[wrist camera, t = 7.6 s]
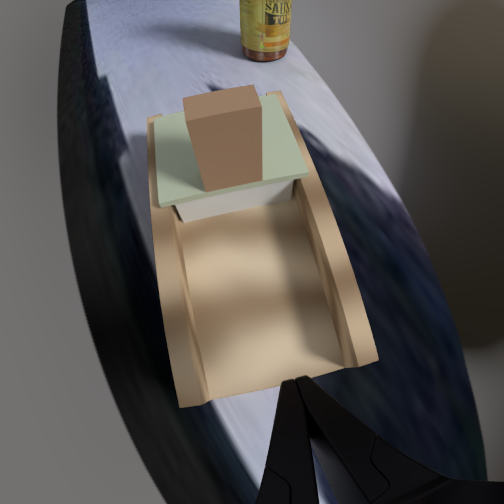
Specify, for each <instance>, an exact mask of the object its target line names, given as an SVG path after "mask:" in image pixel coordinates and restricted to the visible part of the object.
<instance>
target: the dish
mask: <svg viewBox="0 0 504 504" xmlns="http://www.w3.org/2000/svg"><path fill="white" fill-rule="evenodd" d="M293 181H294V179H293V180H288V181H283V182H277V183H272V184H267V185H262V186H257V187H252V188H247V189H242V190H237V191H233V192H228V193H223V194H219V195H214V196H210V197H205V198H201V199H196V200H192V201H188V202H184V203H179V204H175V206H176V208H177V210H178V212H179V214H180V216H181V218H182V220H183V222H184V223H186V222H190V221H194V220H199V219H203V218H207V217H212V216H216V215H221V214H225V213H230V212H235V211H239V210H244V209H249V208H253V207H258V206H263V205H268V204H273V203H278V202H283V201H288V200H291V195H292V188H293Z"/></svg>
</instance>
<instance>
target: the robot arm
mask: <svg viewBox="0 0 504 504" xmlns="http://www.w3.org/2000/svg"><path fill="white" fill-rule="evenodd" d="M311 445H312V447H313V449H314V451H315V454H316V456H317V458H318V460H319V462H320V465H321V467H322V469H323V471H324V473H325V476H326V478H327V480H328V482H329V484H330V487H331V489H332V491H333V493H334V495H335V497H336V500H337V502H338V504H504V482H495V481H473V480H460V479H453V478H449V477H446V476H444V475H441V474H439V473H437V472H435V471H434V470H432V469H430V468H428V467H426V466H424V465H423V464H421V463H419V462H417V461H415V460H414V459H412V458H410V457H408V456H407V455H405V454H404V453H402V452H400V451H399V450H397V449H396V448H394V447H393V446H392V445H390V444H389V443H388V442H386V441H385V440H384V439H382V438H381V437H380V436H379V435H376V433H375V432H374V431H372V430H371V429H370V428H369V427H368V426H366V425H365V424H364V423H363V422H361V421H360V420H359V419H358V418H357V417H355V416H354V415H353V414H352V413H351V412H349V411H348V410H347V409H346V408H345V407H344V406H342V405H341V404H340V403H339V402H338V401H336V400H335V399H334V398H333V397H332V396H331V395H329V394H328V393H327V392H326V391H325V390H324V389H323V388H321V387H320V386H319V385H318V384H317V383H316V382H315V381H313V380H312V379H311V378H310V377H309V376H307V375H303V376H300V377H296V378H295V380H294V379H288V380H284V381H282V382H281V386H280V392H279V397H278V403H277V408H276V414H275V419H274V425H273V430H272V435H271V440H270V445H269V450H268V455H267V460H266V465H265V466H266V467H265V469H264V474H263V478H262V482H261V486H260V490H259V493H258V496H257V498H256V501H255V504H319V498H318V490H317V483H316V476H315V469H314V462H313V455H312V449H311Z"/></svg>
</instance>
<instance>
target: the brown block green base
mask: <svg viewBox="0 0 504 504" xmlns="http://www.w3.org/2000/svg"><path fill="white" fill-rule="evenodd" d="M183 106H184V111H181V112H177V113H173V114H169V115H165V116H162V117H158V118H154V134H155V156H156V172H157V187H158V199H159V205H160V207H161V208H163V207H167V206H171V205H175V204H179V203H184V202H188V201H192V200H196V199H201V198H205V197H210V196H214V195H219V194H223V193H228V192H233V191H237V190H242V189H247V188H252V187H257V186H262V185H267V184H272V183H277V182H283V181H288V180H293V179H299V178H305V177H308V174H309V171H308V169H307V166H306V164H305V161H304V159H303V156H302V154H301V151H300V149H299V146H298V144H297V141H296V139H295V137H294V134H293V132H292V130H291V127H290V125H289V123H288V120H287V118H286V116H285V113H284V111H283V109H282V107H281V104H280V102H279V100H278V98H277V96H276V94H272V95H265V96H258V95H257V92H256V90H255V87H254V85H248V86H242V87H236V88H230V89H224V90H219V91H214V92H209V93H204V94H199V95H195V96H190V97H186V98H183Z"/></svg>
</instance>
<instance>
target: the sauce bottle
mask: <svg viewBox="0 0 504 504" xmlns="http://www.w3.org/2000/svg"><path fill="white" fill-rule="evenodd" d="M291 7H292V0H240V28H241V43H242V45H243V46H242V47H243V49H242V51H243V53H244V54H245V56H246V57H248V58H250V59H253V60H257V61H273V60H277V59H280V58H282V57H284V55H285V54H286V52H287V48H288V45H289V38H290V23H291Z"/></svg>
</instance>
